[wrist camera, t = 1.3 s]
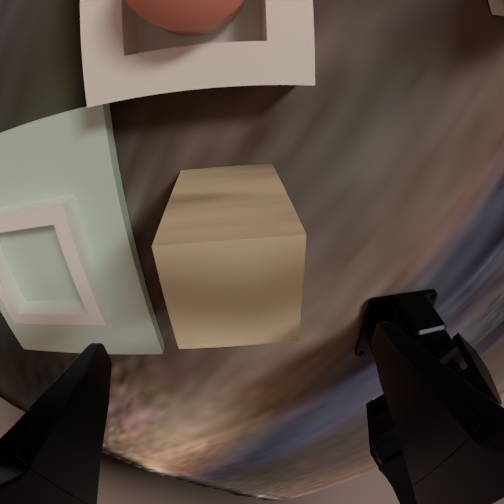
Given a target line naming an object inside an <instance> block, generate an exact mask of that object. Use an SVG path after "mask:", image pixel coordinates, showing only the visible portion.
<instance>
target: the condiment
mask: <svg viewBox="0 0 504 504" xmlns="http://www.w3.org/2000/svg"><path fill="white" fill-rule="evenodd" d="M488 2H489V5H490V9H491V13H492V15H499V16H504V0H488Z"/></svg>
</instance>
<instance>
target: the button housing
mask: <svg viewBox="0 0 504 504" xmlns="http://www.w3.org/2000/svg"><path fill="white" fill-rule="evenodd" d="M80 34H81V52H82V66H83V77H84V86H85V95H86V103H87V108H89V107H93V106H97V105H102V104H106V103H111V102H116V101H121V100H126V99H132V98H137V97H143V96H149V95H156V94H163V93H170V92H178V91H186V90H195V89H206V88H217V87H232V86H253V85H314V86H315V48H314V17H313V0H246V1H245V3H244V6H243V7H242V9H241V11H240V12H239V13H238V15H237V16H236V17H235V18H234V19H233V20H232V21H231V22H229V23H228V24H227V25H225V26H224V27H222V28H220V29H218V30H216V31H213V32H211V33H207V34H204V35H198V36H181V35H175V34H172V33H169V32H166V31H164V30H162V29H161V28H159V27H157V26H156V25H154V24H153V23H151V22H150V21H148V20H146V19H145V18H143V17H142V16H140V15H139V14H137V13H136V12H135V11H134V10H133V9H132V8H131V7H130V6H129V5H128V3H127V2H126V0H80Z"/></svg>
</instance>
